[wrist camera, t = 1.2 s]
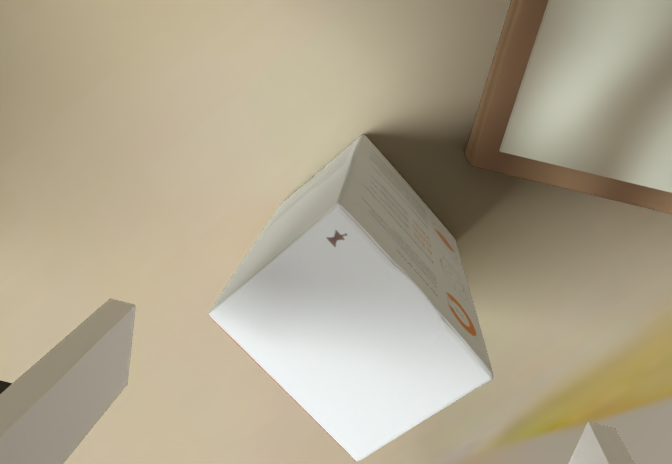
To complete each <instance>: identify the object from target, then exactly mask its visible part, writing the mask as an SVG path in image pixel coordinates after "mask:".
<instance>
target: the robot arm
mask: <svg viewBox="0 0 672 464" xmlns="http://www.w3.org/2000/svg"><path fill="white" fill-rule="evenodd" d="M135 307H136V305H134V304H130V303H126V302H122V301H118V300H114V299H109V300H108V301H107V302H106V303H104V304H103V305H102V306H101V307H100V308H99V309H97V310H96V311H95V312H94V313H93V314H92V315H91V316H89V317H88V318H87V319H86V320H85V321H84V322H83V323H81V324H80V325H79V326H78V327H77V328H76V329H75V330H73V331H72V332H71V333H70V334H69V335H68V336H67V337H65V338H64V339H63V340H62V341H61V342H60V343H58V344H57V345H56V346H55V347H54V348H53V349H52V350H50V351H49V352H48V353H47V354H46V355H45V356H44V357H42V358H41V359H40V360H39V361H38V362H37V363H36V364H34V365H33V366H32V367H31V368H30V369H29V370H27V371H26V372H25V373H24V374H23V375H22V376H21V377H19V378H18V379H17V380H16V381H15V382H14V383H13V384H12V383H8V382H4V381H0V464H63V463H64V462H65V461H66V460H67V458H68V457H69V456H70V455H71V453H72V452H73V451H74V450H75V448H76V447H77V446H78V445H79V443H80V442H81V441H82V440H83V439H84V437H85V436H86V435H87V434H88V432H89V431H90V430H91V429H92V427H93V426H94V425H95V424H96V422H97V421H98V420H99V419H100V418H101V416H102V415H103V414H104V413H105V411H106V410H107V409H108V408H109V406H110V405H111V404H112V403H113V401H114V400H115V399H116V398H117V396H118V395H119V394H120V393H121V392H122V390H123V389H124V388H125V387H126V385H127V384H128V374H129V365H130V355H131V346H132V336H133V327H134V317H135ZM569 464H635V463H634V461H633V460H632V457H631V456H630V454H629V452H628V451H627V448H626V447H625V445H624V443H623V442H622V439H621V438H620V436H619V434H618V432H617V430H616V429H615V428H612V427H608V426H604V425H600V424H596V423H592V422H588V423H587V425H586V427H585V430H584V432H583V434H582V436H581V438H580V441H579V442H578V445H577V447H576V449H575V451H574V453H573V455H572V457H571V459H570V462H569Z"/></svg>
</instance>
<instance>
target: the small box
mask: <svg viewBox="0 0 672 464" xmlns="http://www.w3.org/2000/svg"><path fill="white" fill-rule="evenodd" d="M208 315H209V317H210V318H211V319H212V320H213V321H214V322H215V323H216V324H217V325H218V326H219V327H220V328H221V329H222V330H223V331H224V332H225V333H226V334H227V335H228V336H229V337H230V338H231V339H232V340H233V341H234V342H235V343H236V344H237V345H238V346H240V347H241V348H242V349H243V350H244V351H245V352H246V353H247V354H248V355H249V356H250V357H251V358H252V359H253V360H254V361H255V362H256V363H257V364H258V365H259V366H260V367H261V368H262V369H263V370H264V371H265V372H266V373H267V374H268V375H269V376H270V377H271V378H272V379H273V380H274V381H275V382H276V383H277V384H278V385H279V386H280V387H281V388H282V389H283V390H284V391H285V392H286V393H287V394H288V395H289V396H290V397H291V398H292V399H293V400H294V401H295V402H296V403H297V404H298V405H299V406H300V407H301V408H302V409H303V410H304V411H305V412H306V413H307V414H309V415H310V416H311V417H312V418H313V419H314V420H315V421H316V422H317V423H318V424H319V425H320V426H321V427H322V428H323V429H324V430H325V431H326V432H327V433H328V434H329V435H330V436H331V437H332V438H333V439H334V440H335V441H336V442H337V443H338V444H339V445H340V446H341V447H342V448H343V449H344V450H345V451H346V452H347V453H348V454H349V455H350V456H351V457H352V458H353V459H354V460H355V461H360V460H362V459H363V458H365V457H367V456H368V455H370V454H371V453H373V452H375V451H376V450H378V449H379V448H381V447H383V446H384V445H386V444H387V443H389V442H390V441H392V440H394V439H395V438H397V437H398V436H400V435H402V434H403V433H405V432H406V431H408V430H410V429H411V428H413V427H414V426H416V425H418V424H419V423H421V422H422V421H424V420H426V419H427V418H429V417H431V416H432V415H434V414H436V413H437V412H439V411H441V410H442V409H444V408H445V407H447V406H449V405H450V404H452V403H454V402H455V401H457V400H459V399H460V398H462V397H464V396H465V395H467V394H469V393H470V392H472V391H474V390H475V389H477V388H479V387H480V386H482V385H484V384H485V383H487V382H489V381H491V380H492V379H493V372H492V368H491V364H490V361H489V357H488V353H487V350H486V346H485V342H484V339H483V336H482V333H481V329H480V325H479V321H478V318H477V314H476V311H475V307H474V304H473V300H472V297H471V293H470V289H469V286H468V283H467V279H466V276H465V272H464V269H463V265H462V262H461V258H460V254H459V251H458V247H457V243H456V240H455V238H454V237H453V236H452V235H451V234H450V232H449V231H448V230H447V229H446V228H445V226H444V225H443V224H442V223H441V222H440V221H439V219H438V218H437V217H436V216H435V215H434V213H433V212H432V211H431V210H430V209H429V208H428V206H427V205H426V204H425V203H424V202H423V201H422V199H421V198H420V197H419V196H418V195H417V194H416V193H415V191H414V190H413V189H412V188H411V187H410V186H409V184H408V183H407V182H406V181H405V180H404V179H403V178H402V176H401V175H400V174H399V173H398V172H397V171H396V169H395V168H394V167H393V166H392V165H391V164H390V163H389V161H388V160H387V159H386V158H385V157H384V156H383V155H382V153H381V152H380V151H379V150H378V149H377V148H376V147H375V146H374V144H373V143H372V142H371V141H370V140H369V139H368V138H367V137H366V136H365V135H364V134H363V135H361V136H360V137H359V138H357V139H356V140H355V141H354V142H353V143H352V144H350V145H349V146H348V147H347V148H346V149H345V150H344V151H342V152H341V153H340V154H339V155H338V156H337V157H335V158H334V159H333V160H332V161H331V162H330V163H328V164H327V165H326V166H325V167H324V168H323V169H321V170H320V171H319V172H318V173H317V174H316V175H315V176H313V177H312V178H311V179H310V180H309V181H307V182H306V183H305V184H304V185H303V186H302V187H300V188H299V189H298V190H297V191H296V192H295V193H293V194H292V195H291V196H290V197H289V198H288V199H286V200H285V201H284V202H283V203H282V204H281V205H280V206H279V207H278V209H277V210H276V212H275V213H274V215H273V216H272V218H271V219H270V221H269V222H268V223H267V225H266V226H265V228H264V229H263V231H262V232H261V234H260V235H259V237H258V238H257V240H256V241H255V243H254V244H253V246H252V248H251V249H250V251H249V252H248V253H247V255H246V256H245V258H244V259H243V261H242V262H241V264H240V265H239V267H238V268H237V270H236V272H235V273H234V274H233V276H232V277H231V279H230V280H229V282H228V284H227V285H226V287H225V288H224V290H223V291H222V293H221V294H220V296H219V297H218V299H217V301H216V302H215V303H214V305H213V307H212V308H211V310H210V312H209V314H208Z"/></svg>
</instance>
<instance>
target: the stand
mask: <svg viewBox="0 0 672 464" xmlns="http://www.w3.org/2000/svg"><path fill="white" fill-rule="evenodd" d="M464 154H465V155H466V157H467V159H468V160H469V162H470V164H471V165H472V166H474V167H478V168H482V169H487V170H491V171H495V172H499V173H503V174H507V175H512V176H516V177H520V178H524V179H528V180H532V181H536V182H541V183H545V184H549V185H553V186H557V187H561V188H566V189H570V190H574V191H578V192H582V193H586V194H590V195H595V196H599V197H603V198H607V199H611V200H615V201H620V202H624V203H628V204H632V205H636V206H640V207H644V208H649V209H653V210H657V211H661V212H665V213H669V214H672V0H511V4H510V7H509V10H508V13H507V17H506V20H505V23H504V27H503V30H502V33H501V36H500V40H499V43H498V46H497V49H496V53H495V56H494V59H493V62H492V66H491V69H490V72H489V75H488V79H487V82H486V85H485V88H484V92H483V95H482V98H481V101H480V105H479V108H478V111H477V114H476V118H475V121H474V124H473V127H472V131H471V134H470V137H469V140H468V144H467V147H466V150H465V153H464Z"/></svg>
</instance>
